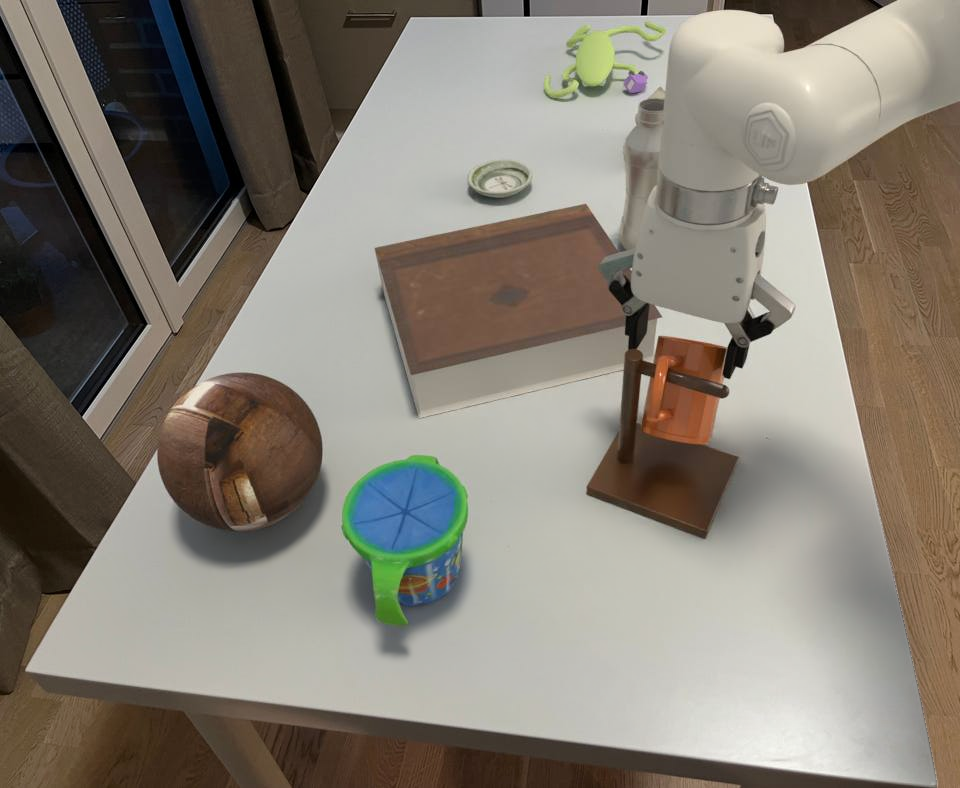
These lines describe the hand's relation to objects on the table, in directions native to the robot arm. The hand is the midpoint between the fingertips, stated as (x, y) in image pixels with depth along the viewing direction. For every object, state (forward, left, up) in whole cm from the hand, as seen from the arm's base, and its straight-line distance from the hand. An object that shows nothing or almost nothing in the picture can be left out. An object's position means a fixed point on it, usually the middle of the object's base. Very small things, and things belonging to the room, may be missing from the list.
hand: (683, 354), depth 73 cm
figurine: (+42, -81, -13) cm, 92 cm away
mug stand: (-1, +5, -12) cm, 13 cm away
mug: (-1, +6, -5) cm, 8 cm away
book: (+24, -10, -12) cm, 29 cm away
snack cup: (+15, +25, -12) cm, 32 cm away
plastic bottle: (+15, -31, -12) cm, 37 cm away
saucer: (+40, -37, -12) cm, 56 cm away
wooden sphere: (+34, +25, -12) cm, 44 cm away
